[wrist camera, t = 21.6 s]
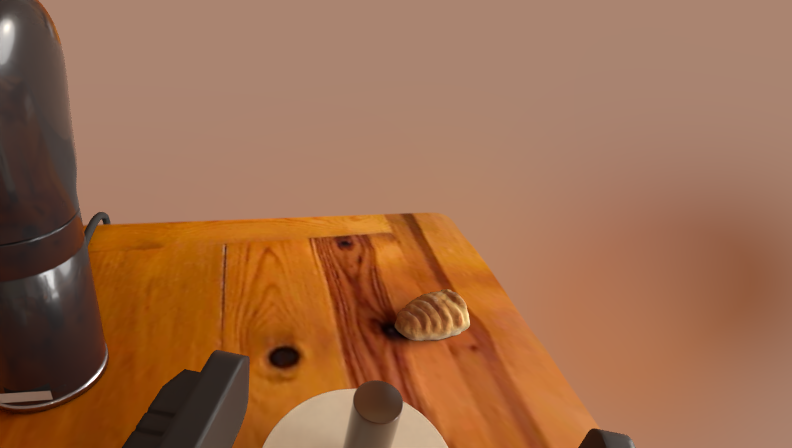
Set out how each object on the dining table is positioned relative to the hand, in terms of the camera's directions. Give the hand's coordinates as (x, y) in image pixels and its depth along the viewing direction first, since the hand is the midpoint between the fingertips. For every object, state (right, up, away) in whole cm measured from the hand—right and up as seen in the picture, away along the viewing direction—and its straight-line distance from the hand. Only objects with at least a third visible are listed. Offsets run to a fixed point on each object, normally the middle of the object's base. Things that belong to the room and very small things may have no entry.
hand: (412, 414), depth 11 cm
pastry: (+4, -9, +47) cm, 48 cm away
